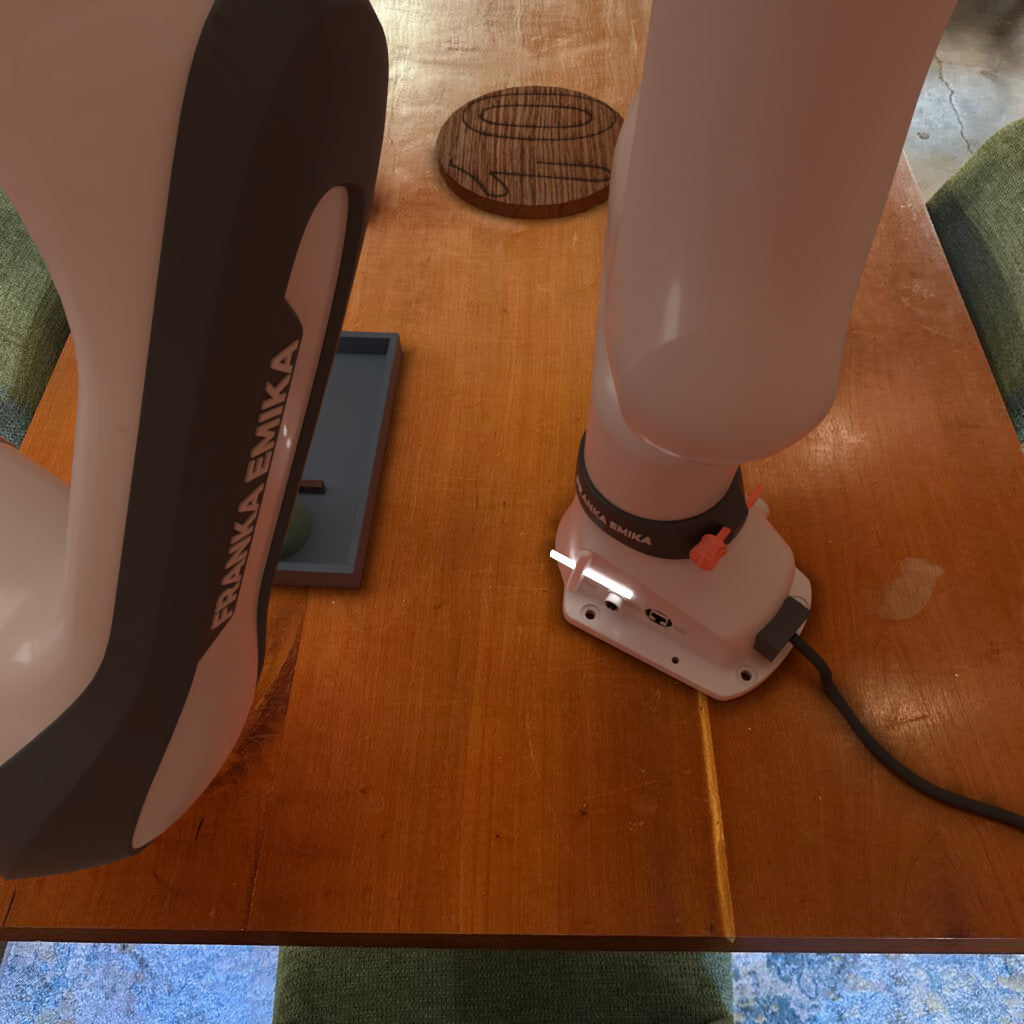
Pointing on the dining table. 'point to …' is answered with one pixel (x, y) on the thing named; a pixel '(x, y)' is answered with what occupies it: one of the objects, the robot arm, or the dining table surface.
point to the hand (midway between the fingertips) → (136, 556)
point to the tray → (346, 462)
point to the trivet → (530, 151)
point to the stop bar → (312, 486)
